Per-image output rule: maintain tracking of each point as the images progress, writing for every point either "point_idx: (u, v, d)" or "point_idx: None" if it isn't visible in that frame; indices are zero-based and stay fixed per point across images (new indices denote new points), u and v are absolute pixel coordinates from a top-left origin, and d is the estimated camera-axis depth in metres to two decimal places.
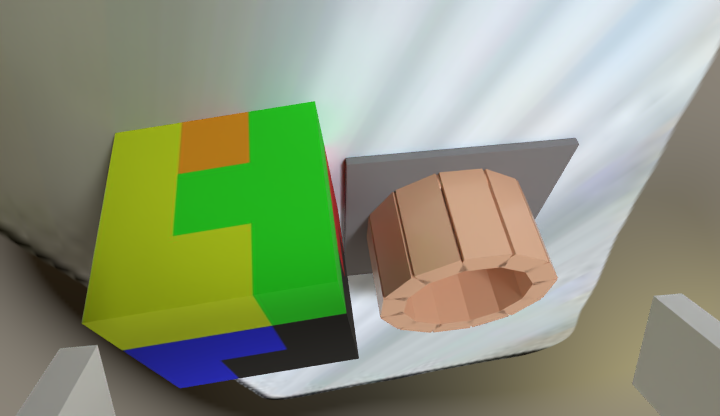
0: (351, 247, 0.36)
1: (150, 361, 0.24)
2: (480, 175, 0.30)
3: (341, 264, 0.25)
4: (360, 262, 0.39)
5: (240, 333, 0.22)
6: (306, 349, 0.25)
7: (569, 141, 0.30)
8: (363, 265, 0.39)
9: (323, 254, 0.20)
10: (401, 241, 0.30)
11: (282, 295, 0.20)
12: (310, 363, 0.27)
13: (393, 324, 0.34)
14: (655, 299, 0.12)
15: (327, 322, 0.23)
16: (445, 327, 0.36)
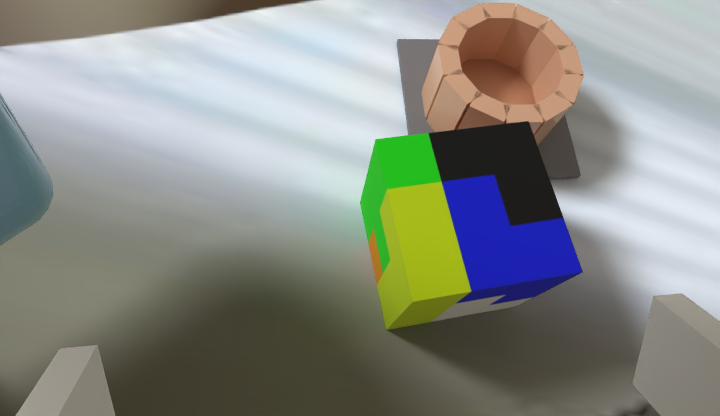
0: None
1: (501, 278, 0.28)
2: (423, 90, 0.43)
3: None
4: (555, 163, 0.42)
5: (453, 203, 0.29)
6: (498, 160, 0.31)
7: (397, 45, 0.45)
8: (560, 159, 0.42)
9: (374, 155, 0.31)
10: (461, 125, 0.38)
11: (391, 171, 0.30)
12: (532, 158, 0.31)
13: (560, 109, 0.37)
14: (655, 299, 0.12)
15: (443, 144, 0.31)
16: (572, 65, 0.38)
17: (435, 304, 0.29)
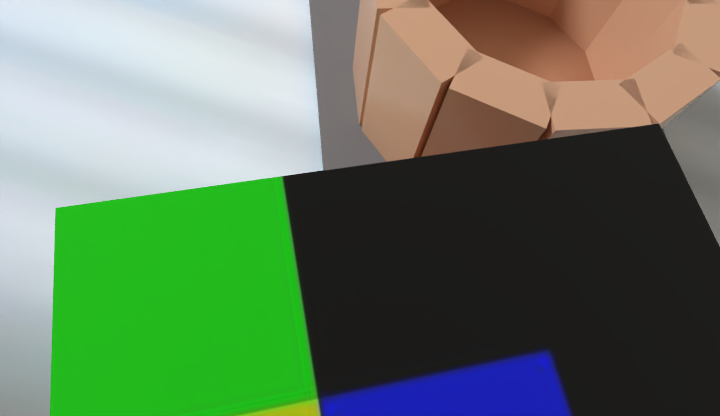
0: None
1: None
2: (354, 65, 0.20)
3: None
4: None
5: None
6: (560, 283, 0.08)
7: None
8: None
9: None
10: (432, 139, 0.15)
11: (92, 358, 0.07)
12: (694, 268, 0.08)
13: (692, 92, 0.14)
14: None
15: (338, 224, 0.08)
16: None
17: None
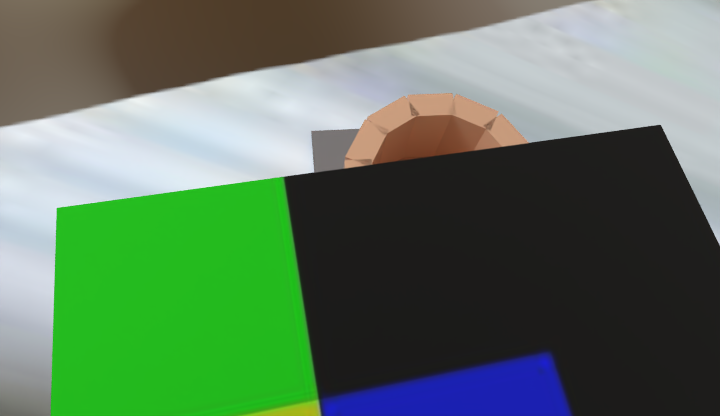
0: None
1: None
2: None
3: None
4: None
5: None
6: (561, 284, 0.08)
7: None
8: None
9: None
10: None
11: (93, 358, 0.07)
12: (696, 270, 0.08)
13: None
14: None
15: (340, 225, 0.08)
16: None
17: None
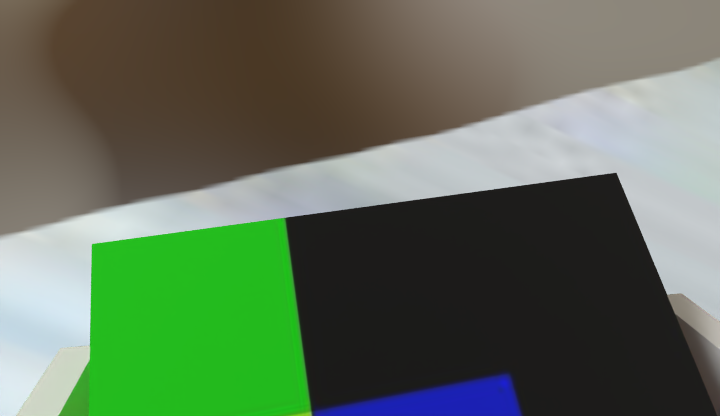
0: None
1: None
2: None
3: None
4: None
5: None
6: (521, 315, 0.09)
7: None
8: None
9: None
10: None
11: (123, 373, 0.08)
12: (639, 303, 0.09)
13: None
14: None
15: (332, 260, 0.09)
16: None
17: None
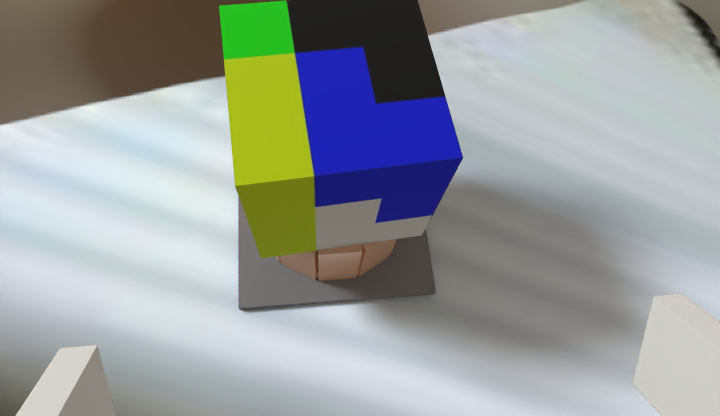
0: (373, 291, 0.36)
1: (356, 162, 0.22)
2: None
3: None
4: (406, 278, 0.37)
5: (306, 77, 0.24)
6: (370, 31, 0.25)
7: None
8: (413, 274, 0.37)
9: None
10: None
11: (233, 40, 0.24)
12: (414, 30, 0.25)
13: None
14: (655, 299, 0.12)
15: (303, 13, 0.25)
16: None
17: (282, 202, 0.23)
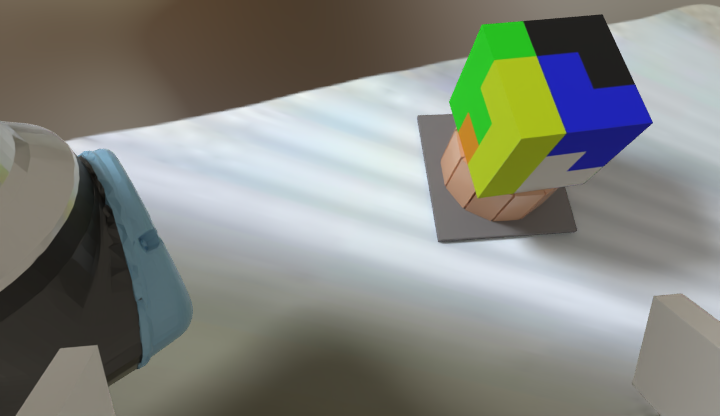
0: (533, 229, 0.49)
1: (589, 125, 0.35)
2: (442, 161, 0.51)
3: None
4: (555, 220, 0.50)
5: (547, 71, 0.37)
6: (580, 42, 0.38)
7: (418, 121, 0.53)
8: (559, 217, 0.50)
9: (478, 40, 0.39)
10: (476, 195, 0.46)
11: (496, 47, 0.37)
12: (607, 41, 0.38)
13: None
14: (655, 299, 0.12)
15: (535, 30, 0.38)
16: None
17: (533, 152, 0.37)
